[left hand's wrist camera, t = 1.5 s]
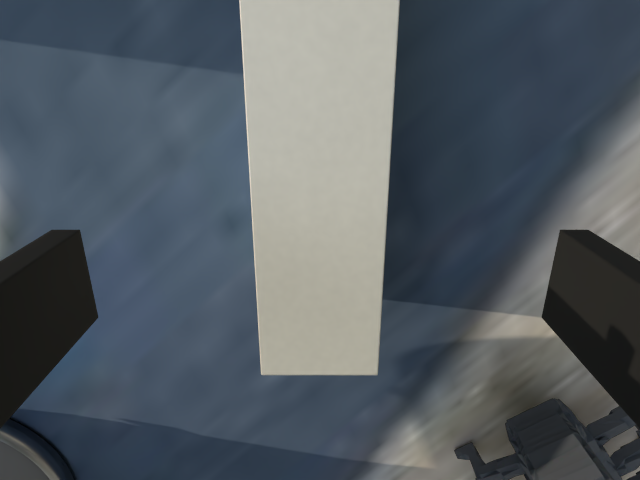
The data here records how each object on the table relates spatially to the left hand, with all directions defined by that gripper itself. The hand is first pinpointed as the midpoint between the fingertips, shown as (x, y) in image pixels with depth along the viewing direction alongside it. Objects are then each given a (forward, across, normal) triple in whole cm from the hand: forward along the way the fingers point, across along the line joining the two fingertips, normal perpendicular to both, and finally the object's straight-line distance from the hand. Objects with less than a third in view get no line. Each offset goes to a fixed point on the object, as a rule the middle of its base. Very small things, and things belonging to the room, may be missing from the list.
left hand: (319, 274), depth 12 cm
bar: (+14, 0, -21) cm, 25 cm away
